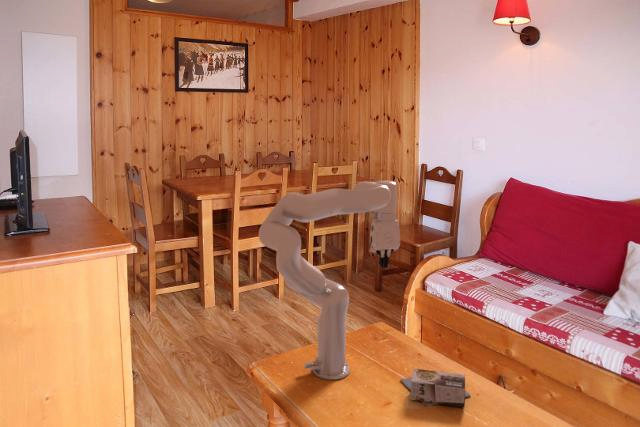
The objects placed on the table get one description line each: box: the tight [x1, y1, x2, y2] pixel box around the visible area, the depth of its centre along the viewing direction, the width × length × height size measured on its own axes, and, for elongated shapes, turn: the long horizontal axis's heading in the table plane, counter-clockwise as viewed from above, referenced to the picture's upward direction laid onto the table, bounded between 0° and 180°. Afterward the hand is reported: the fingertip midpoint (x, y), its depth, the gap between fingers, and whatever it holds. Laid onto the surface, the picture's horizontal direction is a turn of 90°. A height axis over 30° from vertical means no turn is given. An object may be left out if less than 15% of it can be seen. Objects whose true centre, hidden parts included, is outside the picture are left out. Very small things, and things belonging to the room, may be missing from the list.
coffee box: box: [409, 368, 466, 408], centre depth 164 cm, size 9×6×16 cm
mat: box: [399, 370, 471, 407], centre depth 170 cm, size 16×16×1 cm
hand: (383, 266), depth 187 cm, fingers closed
